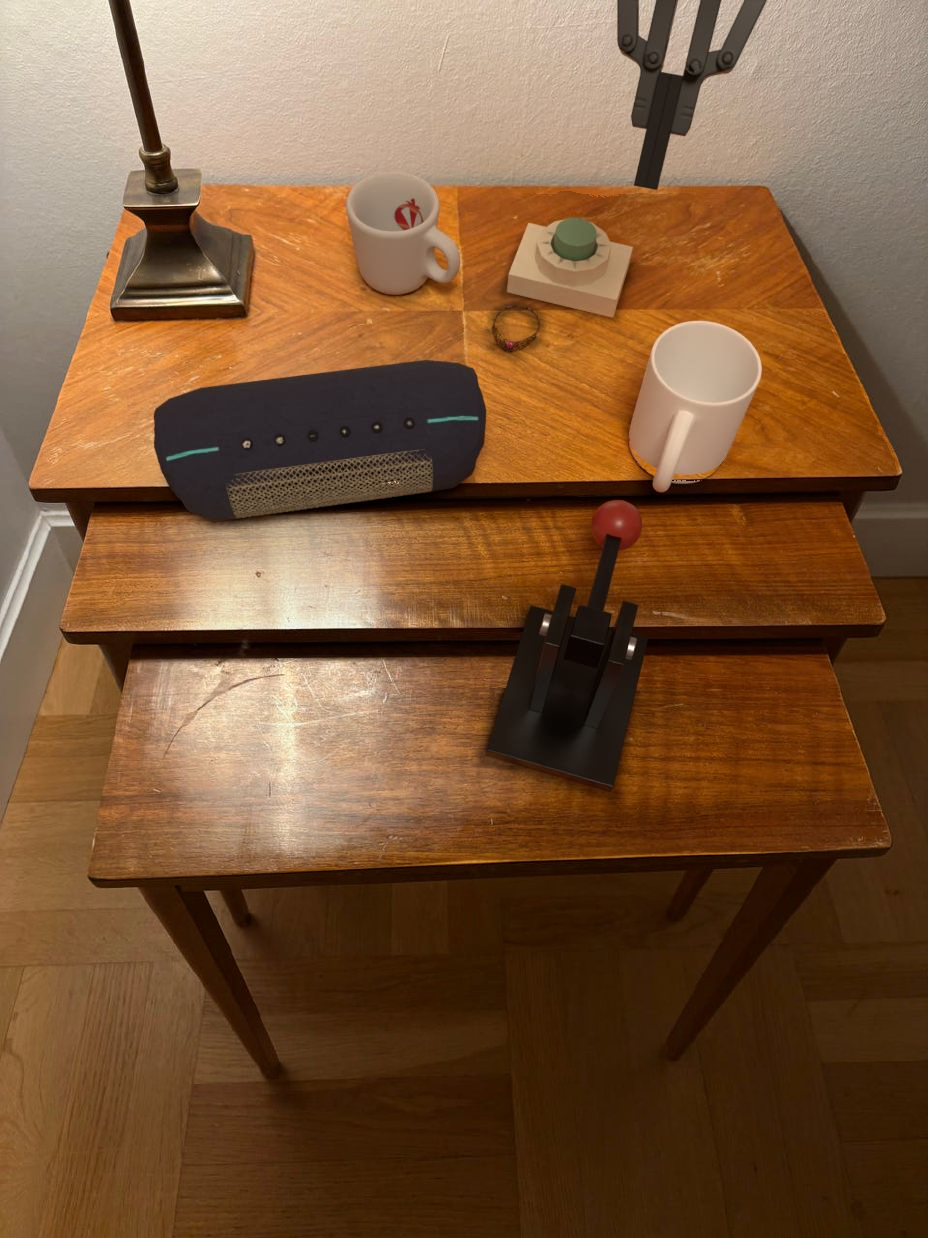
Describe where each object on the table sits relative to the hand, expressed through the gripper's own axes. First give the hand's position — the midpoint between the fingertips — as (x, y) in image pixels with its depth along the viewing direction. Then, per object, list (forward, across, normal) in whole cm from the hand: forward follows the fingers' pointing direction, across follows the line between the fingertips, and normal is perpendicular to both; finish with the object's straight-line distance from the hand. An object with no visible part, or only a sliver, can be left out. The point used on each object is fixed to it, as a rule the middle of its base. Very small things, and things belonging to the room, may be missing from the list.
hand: (645, 187), depth 64 cm
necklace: (+14, +9, -18) cm, 25 cm away
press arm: (+25, -3, +8) cm, 27 cm away
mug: (+20, -7, -10) cm, 24 cm away
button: (+6, +6, -23) cm, 24 cm away
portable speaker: (+26, +20, -3) cm, 32 cm away
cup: (+12, +20, -21) cm, 31 cm away
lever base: (+34, -3, +8) cm, 35 cm away
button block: (+9, +6, -25) cm, 27 cm away
